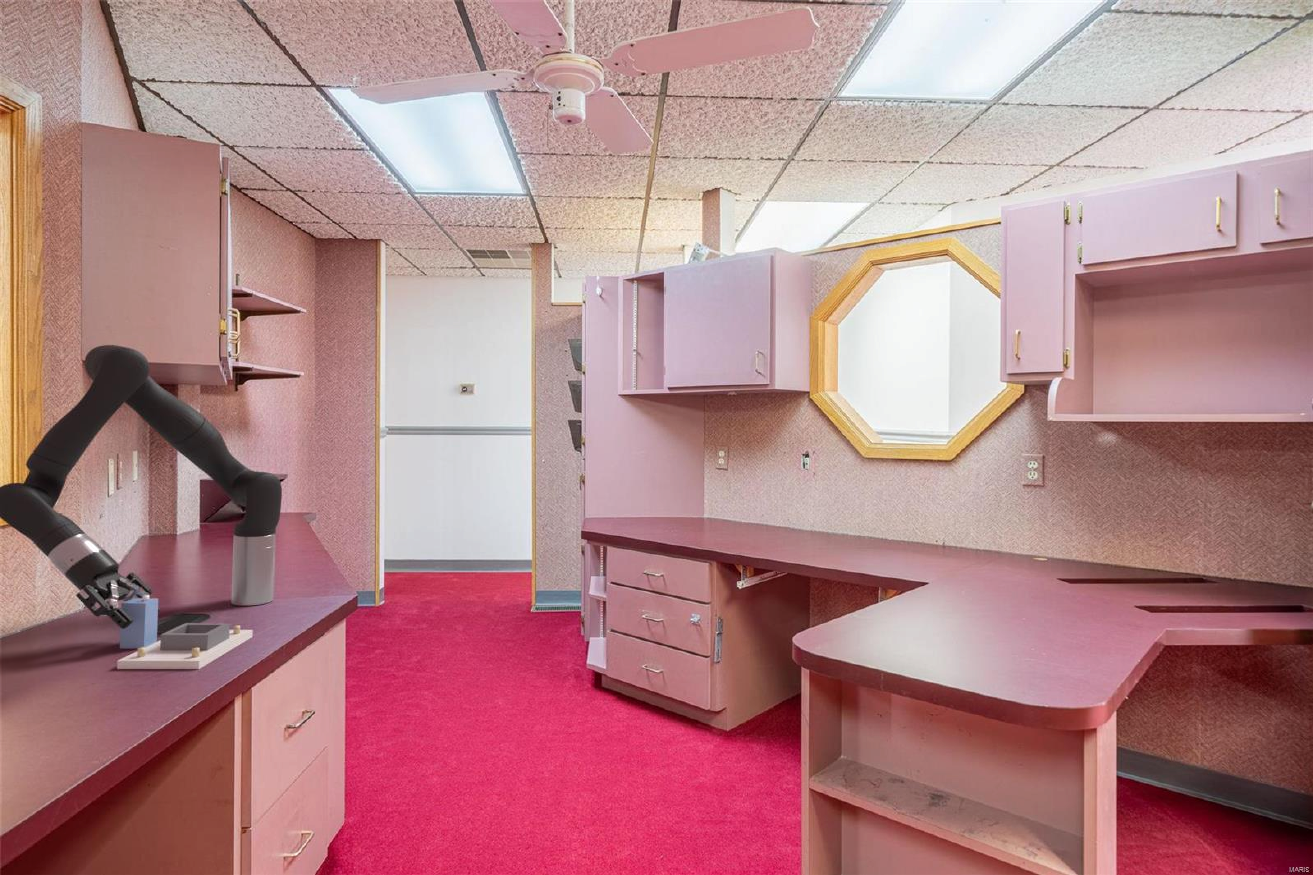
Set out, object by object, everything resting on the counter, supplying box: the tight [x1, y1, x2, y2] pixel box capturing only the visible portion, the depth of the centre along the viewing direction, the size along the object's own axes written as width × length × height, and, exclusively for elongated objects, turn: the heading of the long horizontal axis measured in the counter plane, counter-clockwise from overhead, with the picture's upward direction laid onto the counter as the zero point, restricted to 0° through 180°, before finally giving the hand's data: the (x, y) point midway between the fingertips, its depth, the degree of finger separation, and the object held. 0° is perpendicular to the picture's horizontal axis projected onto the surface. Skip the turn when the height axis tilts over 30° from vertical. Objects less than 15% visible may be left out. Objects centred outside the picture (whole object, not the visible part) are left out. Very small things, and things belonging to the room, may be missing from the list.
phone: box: [157, 613, 211, 637], centre depth 151 cm, size 8×1×15 cm
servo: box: [119, 595, 159, 649], centre depth 137 cm, size 4×4×10 cm
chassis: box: [116, 622, 254, 670], centre depth 134 cm, size 20×14×4 cm
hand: (143, 619), depth 137 cm, fingers open, 8 cm apart
